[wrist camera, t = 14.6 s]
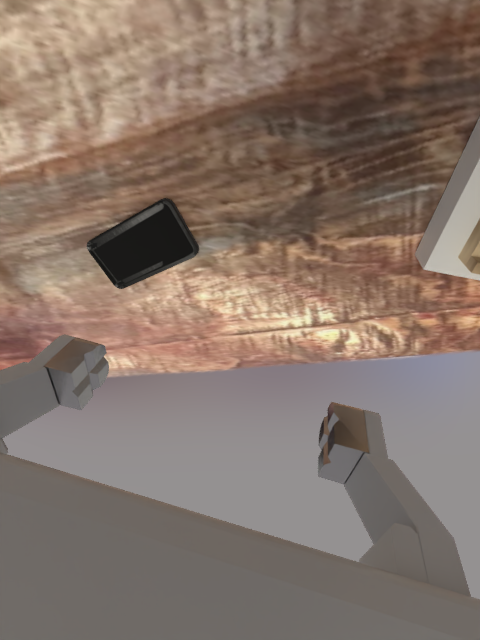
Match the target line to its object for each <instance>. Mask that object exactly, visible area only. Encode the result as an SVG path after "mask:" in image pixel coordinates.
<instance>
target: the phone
mask: <svg viewBox="0 0 480 640" xmlns="http://www.w3.org/2000/svg"><path fill="white" fill-rule="evenodd" d="M184 224H185V225H184ZM185 226H186V227H185ZM194 240H195V239H194V237H193V235H192V234H191V232H190V230H189V229H188V227H187V225H186V223H185V222H184V220H183V218H182V216H181V215H180V213H179V211H178V209H177V208H176V206H175V204H174V203H173V202H172V201H171V200H170V199H165V198H164V199H162V200H160V201H158V202H156V203H155V204H153V205H151V206H149V207H148V208H146V209H144V210H142V211H141V212H139V213H137V214H135V215H134V216H132V217H130V218H128V219H127V220H125V221H123V222H121V223H120V224H118V225H116V226H114V227H113V228H111V229H109V230H107V231H106V232H104V233H102V234H100V235H99V236H97V237H95V238H94V239H92V240H90V241H89V242H88V243H87V249H88V251H89V252H90V254H91V255H92V256H93V258H94V259H95V260H96V262H97V263H98V264H99V266H100V267H101V268H102V270H103V271H104V272H105V274H106V275H107V276H108V278H109V279H110V281H111V282H112V283H113V284H114V286H116V287H117V288H119V289H123V288H126V287H128V286H130V285H132V284H135V283H137V282H139V281H141V280H144V279H146V278H148V277H150V276H153V275H155V274H157V273H159V272H162V271H164V270H166V269H168V268H171V267H173V266H175V265H177V264H180V263H182V262H184V261H186V260H189V259H191V258H193V257H194V256H196V254H197V253H198V251H199V247H198V244H197V242H196V241H194Z"/></svg>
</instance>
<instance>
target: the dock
mask: <svg viewBox="0 0 480 640" xmlns="http://www.w3.org/2000/svg"><path fill="white" fill-rule="evenodd" d="M479 219H480V117H479V119H478V121H477V123H476V126H475V128H474V130H473V132H472V134H471V136H470V138H469V140H468V142H467V145H466V147H465V149H464V151H463V153H462V155H461V157H460V159H459V161H458V164H457V166H456V168H455V170H454V172H453V174H452V176H451V178H450V181H449V183H448V185H447V187H446V189H445V191H444V193H443V195H442V197H441V200H440V202H439V204H438V206H437V208H436V210H435V212H434V214H433V216H432V219H431V221H430V223H429V225H428V227H427V229H426V231H425V233H424V236H423V238H422V240H421V242H420V244H419V246H418V248H417V250H416V252H415V256H416V257H417V259H418V261H419V263H420V264H421V266H422V268H423V269H424V270H429V271H434V272H439V273H444V274H450V275H455V276H460V277H465V278H470V279H475V280H480V274H474V273H471V272H470V271H469V270H468V269H467V267H466V266H465V265H464V264H463V263H462V262H461V260H460V259H459V258H458V256H459V254H460V253H461V251H462V249H463V247H464V246H465V244H466V242H467V240H468V238H469V237H470V235H471V233H472V231H473V230H474V228H475V226H476V224H477V222H478V221H479Z"/></svg>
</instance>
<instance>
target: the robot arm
mask: <svg viewBox="0 0 480 640" xmlns="http://www.w3.org/2000/svg"><path fill="white" fill-rule="evenodd" d="M105 354H106V349H105V346H104V345H102V344H98V343H95V342H91V341H87V340H84V339H80V338H76V337H72V336H69V335H61V336H59V337H58V338H57V339H56V340H55V341H53V342H52V343H51V344H50V345H49V346H48V347H46V348H45V349H44V350H43V351H42V352H41V353H39V354H38V355H37V356H36V357H35V358H34V359H32V360H31V361H30V362H29V363H27V362H23V363H20V364H17V365H14V366H11V367H9V368H6V369H3V370H0V640H480V599H476V598H473V597H471V595H470V592H469V588H468V585H467V581H466V578H465V575H464V571H463V568H462V564H461V561H460V557H459V554H458V551H457V547H456V544H455V541H454V538H453V537H452V535H451V534H450V533H449V532H448V530H447V529H446V528H445V526H444V525H443V524H442V522H440V520H439V519H438V517H437V516H436V515H435V514H434V512H433V511H432V510H431V508H430V507H429V506H428V505H427V503H426V502H425V501H424V499H423V498H422V497H421V496H420V494H419V493H418V492H417V490H416V489H415V488H414V487H413V485H412V484H411V483H410V481H409V480H408V479H407V478H406V476H405V475H404V474H403V473H402V471H401V470H400V469H399V467H398V466H397V465H396V463H395V462H394V461H393V460H390V459H388V455H387V450H386V444H385V439H384V433H383V428H382V422H381V417H380V415H379V413H375V412H371V411H366V410H362V409H359V408H354V407H351V406H346V405H342V404H338V403H334V402H331V404H330V405H329V407H328V416H327V417H324V419H323V422H322V424H321V428H320V434H319V447H320V448H321V450H322V451H321V453H320V455H319V457H318V476H319V477H322V478H325V479H328V480H332V481H335V482H338V483H341V484H344V487H345V489H346V490H347V492H348V494H349V496H350V498H351V500H352V502H353V504H354V506H355V508H356V510H357V512H358V514H359V516H360V518H361V520H362V522H363V524H364V526H365V528H366V530H367V532H368V534H369V536H370V538H371V540H372V542H373V544H374V545H373V546H372V547H371V548H370V549H369V550H368V551H367V552H366V553H365V554H364V555H363V557H362V558H361V559H360V560H359V562H356V561H353V560H349V559H346V558H343V557H340V556H336V555H333V554H330V553H326V552H323V551H320V550H317V549H313V548H309V547H307V546H304V545H300V544H297V543H294V542H291V541H287V540H284V539H281V538H278V537H274V536H271V535H268V534H264V533H261V532H258V531H255V530H252V529H248V528H245V527H242V526H239V525H235V524H232V523H229V522H226V521H222V520H219V519H216V518H213V517H209V516H206V515H203V514H200V513H196V512H193V511H190V510H187V509H183V508H180V507H177V506H173V505H170V504H167V503H164V502H161V501H157V500H154V499H151V498H148V497H144V496H141V495H138V494H134V493H131V492H128V491H125V490H122V489H118V488H115V487H112V486H108V485H105V484H102V483H99V482H95V481H92V480H89V479H85V478H82V477H79V476H76V475H72V474H69V473H66V472H63V471H60V470H56V469H53V468H50V467H47V466H43V465H40V464H37V463H33V462H30V461H27V460H24V459H20V458H17V457H14V456H11V455H7V453H8V448H7V447H6V445H5V443H4V441H3V439H2V438H3V437H5V436H7V435H9V434H11V433H12V432H14V431H16V430H18V429H19V428H21V427H23V426H25V425H26V424H28V423H29V422H32V421H33V420H35V419H37V418H39V417H40V416H42V415H44V414H46V413H47V412H49V411H51V410H53V409H54V408H56V407H58V406H59V405H63V406H67V407H71V408H75V409H79V410H82V409H83V408H84V406H85V405H86V404H87V403H88V401H89V400H90V399H91V398H92V396H93V390H94V389H96V388H99V387H101V385H102V384H103V383H104V381H105V380H106V377H107V375H108V371H109V365H108V361H107V360H106V359H105V358H104V357H103V356H104V355H105Z"/></svg>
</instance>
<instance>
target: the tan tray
mask: <svg viewBox="0 0 480 640" xmlns="http://www.w3.org/2000/svg"><path fill="white" fill-rule="evenodd" d="M458 258H459V259H460V260H461V262H462V263H463V264H464V265H465V266H466V267H467V269H468V270H469V271H470V272H471V273H474V274H480V219H479V221H478V222H477V224H476V226H475V228H474V230H473V231H472V233H471V235H470V237H469V238H468V240H467V242H466V244H465V246H464V247H463V249H462V251H461V253H460V254H459V256H458Z"/></svg>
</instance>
